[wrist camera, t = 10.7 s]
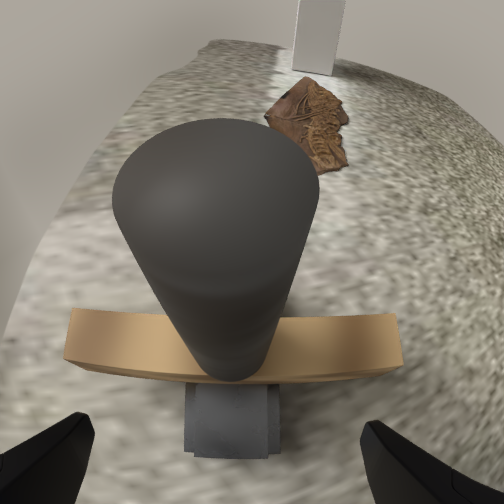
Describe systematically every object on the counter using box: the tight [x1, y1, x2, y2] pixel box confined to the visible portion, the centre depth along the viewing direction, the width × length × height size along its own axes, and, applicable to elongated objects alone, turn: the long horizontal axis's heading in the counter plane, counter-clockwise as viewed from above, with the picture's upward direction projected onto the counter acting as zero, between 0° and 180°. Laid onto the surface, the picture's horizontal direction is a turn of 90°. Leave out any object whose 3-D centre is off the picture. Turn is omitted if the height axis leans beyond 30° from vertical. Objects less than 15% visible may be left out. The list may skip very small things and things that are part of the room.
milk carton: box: [291, 0, 345, 76], centre depth 40 cm, size 7×7×19 cm
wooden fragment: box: [264, 76, 349, 176], centre depth 38 cm, size 26×11×1 cm, turn 167°
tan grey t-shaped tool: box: [63, 118, 403, 384], centre depth 11 cm, size 18×4×14 cm, turn 90°
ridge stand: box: [184, 382, 281, 459], centre depth 19 cm, size 12×6×4 cm, turn 0°
